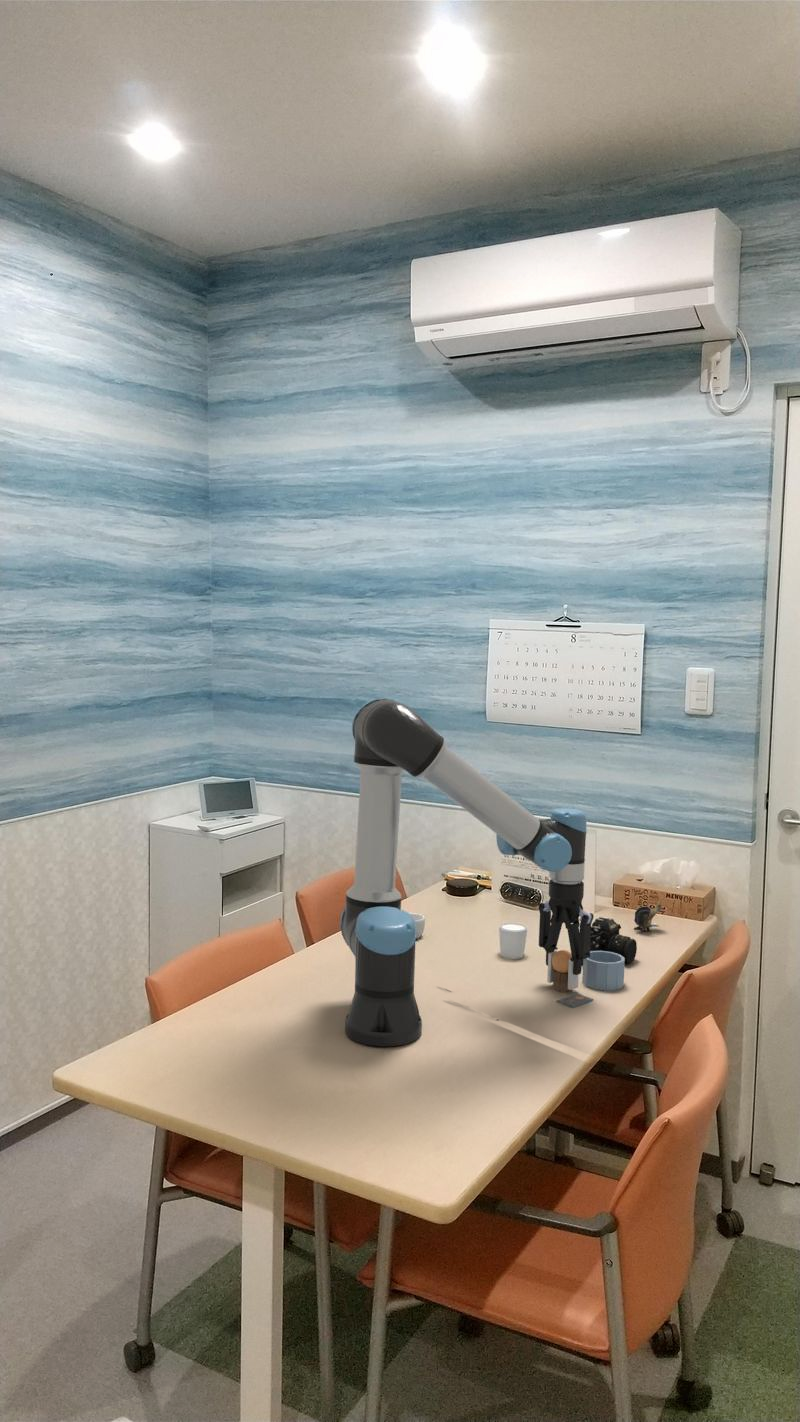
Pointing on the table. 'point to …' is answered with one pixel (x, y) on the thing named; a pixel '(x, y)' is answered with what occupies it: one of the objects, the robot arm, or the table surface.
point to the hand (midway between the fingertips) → (562, 984)
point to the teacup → (418, 923)
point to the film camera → (611, 939)
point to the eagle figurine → (646, 917)
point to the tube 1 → (560, 981)
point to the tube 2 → (603, 970)
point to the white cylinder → (512, 940)
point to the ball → (561, 961)
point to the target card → (574, 1000)
